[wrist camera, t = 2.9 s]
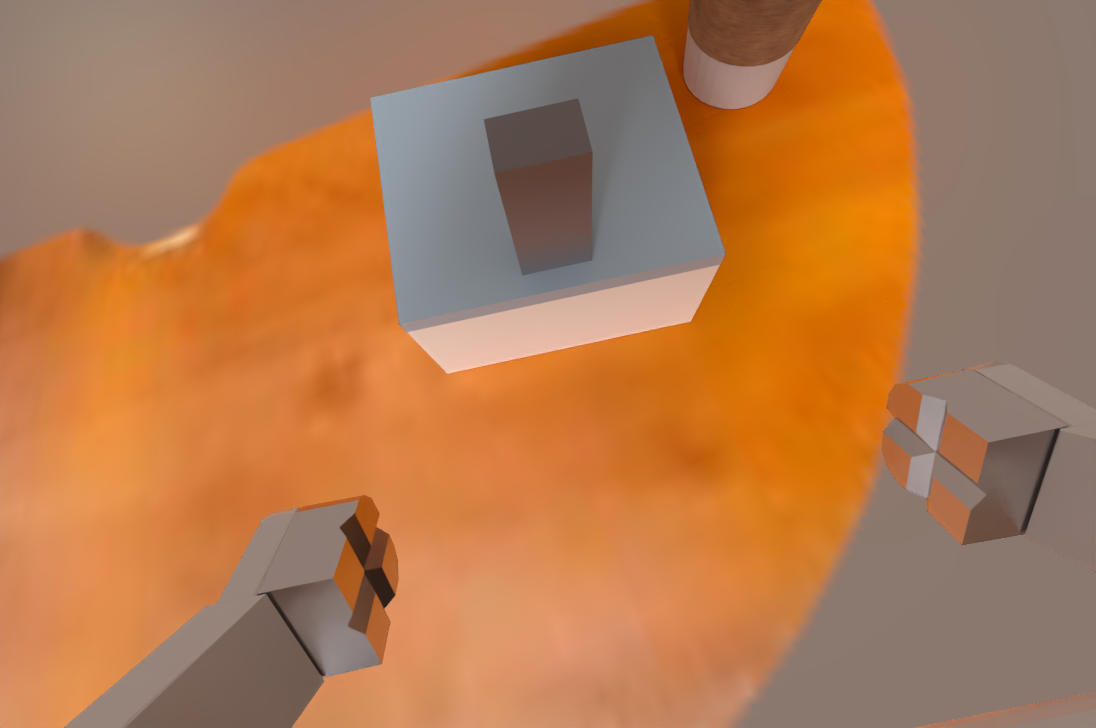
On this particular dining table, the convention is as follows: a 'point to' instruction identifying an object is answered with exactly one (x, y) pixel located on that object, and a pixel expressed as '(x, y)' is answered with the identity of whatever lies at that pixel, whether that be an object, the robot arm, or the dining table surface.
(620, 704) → the dining table surface
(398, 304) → the lid
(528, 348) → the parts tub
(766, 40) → the coffee cup
